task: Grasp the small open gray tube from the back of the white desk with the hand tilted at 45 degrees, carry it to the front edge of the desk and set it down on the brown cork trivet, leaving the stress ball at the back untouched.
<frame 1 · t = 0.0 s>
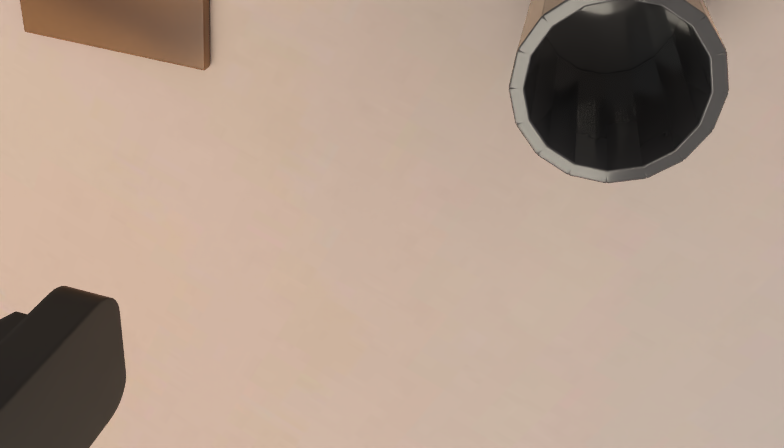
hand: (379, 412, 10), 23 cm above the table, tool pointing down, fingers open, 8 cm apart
open gray tube: (609, 5, 28), on the table
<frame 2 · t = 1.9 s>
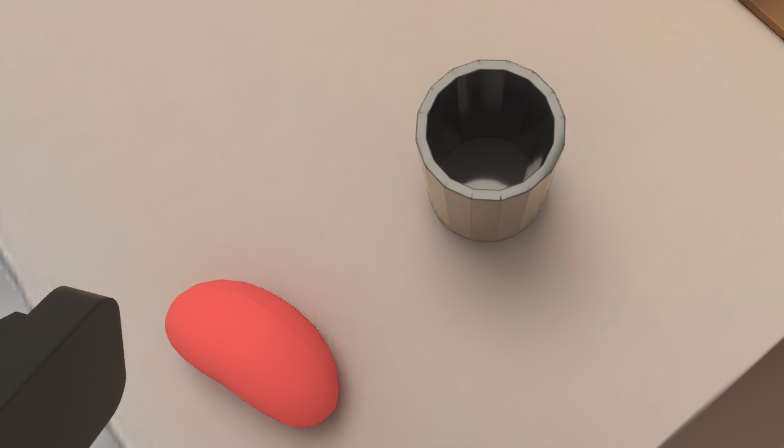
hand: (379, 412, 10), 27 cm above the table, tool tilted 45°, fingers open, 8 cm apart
open gray tube: (486, 186, 38), on the table
stress ball: (268, 350, 38), on the table
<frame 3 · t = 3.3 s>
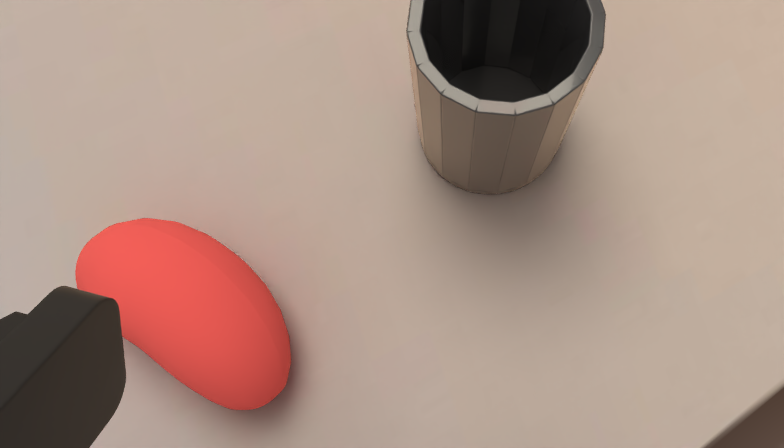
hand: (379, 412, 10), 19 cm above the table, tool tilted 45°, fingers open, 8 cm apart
open gray tube: (489, 126, 31), on the table
stress ball: (207, 314, 30), on the table
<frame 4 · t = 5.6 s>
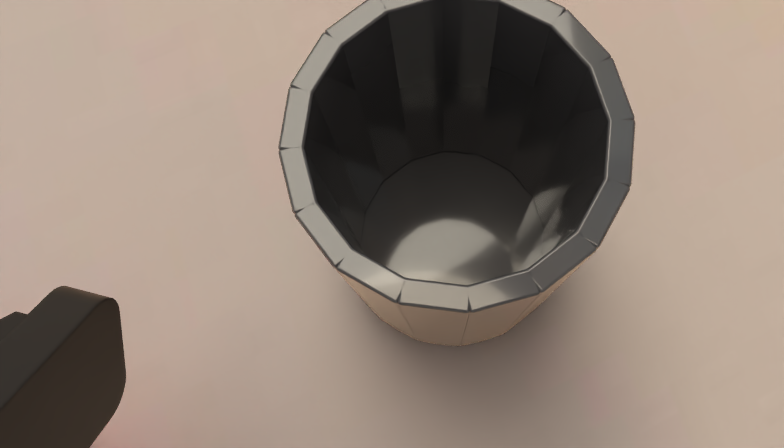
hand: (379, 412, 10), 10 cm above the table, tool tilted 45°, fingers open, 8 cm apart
open gray tube: (451, 241, 21), on the table
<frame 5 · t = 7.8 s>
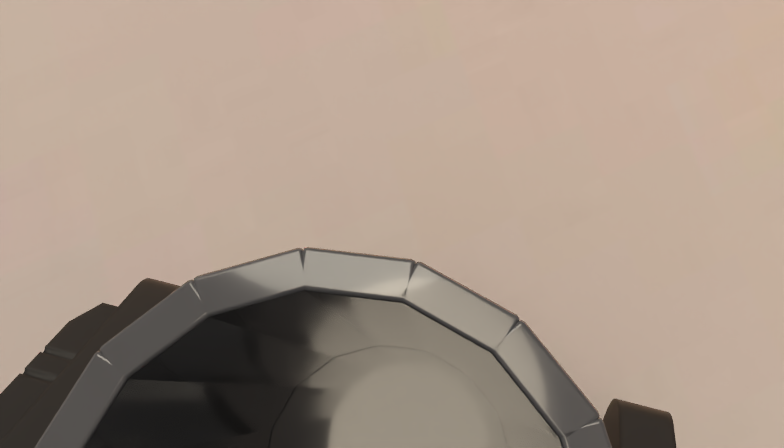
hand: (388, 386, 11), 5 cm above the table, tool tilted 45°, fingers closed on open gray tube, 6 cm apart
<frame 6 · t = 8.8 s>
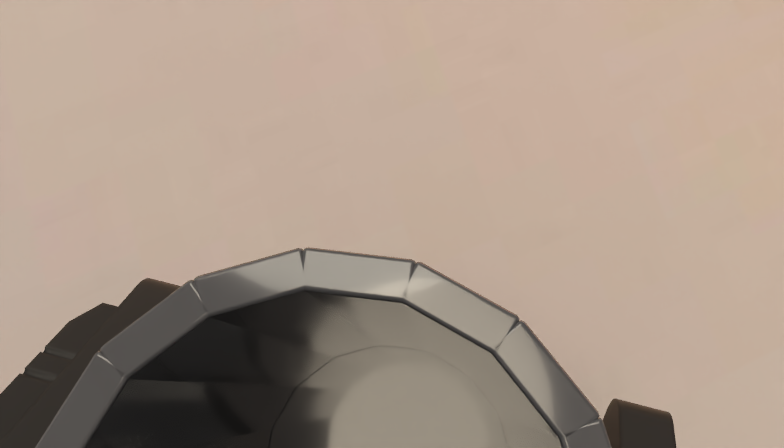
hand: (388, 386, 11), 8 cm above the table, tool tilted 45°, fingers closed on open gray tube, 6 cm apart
when the fingers open (6 cm above the table, at t = 16.9 s): open gray tube stays where it is, resting on trivet.
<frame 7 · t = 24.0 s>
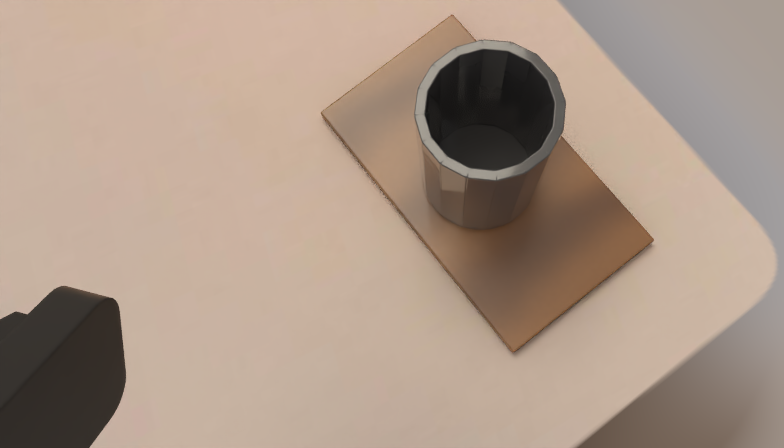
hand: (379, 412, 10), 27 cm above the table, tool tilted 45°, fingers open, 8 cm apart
open gray tube: (479, 174, 38), point 1 cm above the table, touching trivet
trivet: (480, 176, 39), on the table
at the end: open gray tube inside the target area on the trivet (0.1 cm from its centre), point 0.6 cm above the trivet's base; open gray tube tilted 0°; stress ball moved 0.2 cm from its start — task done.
